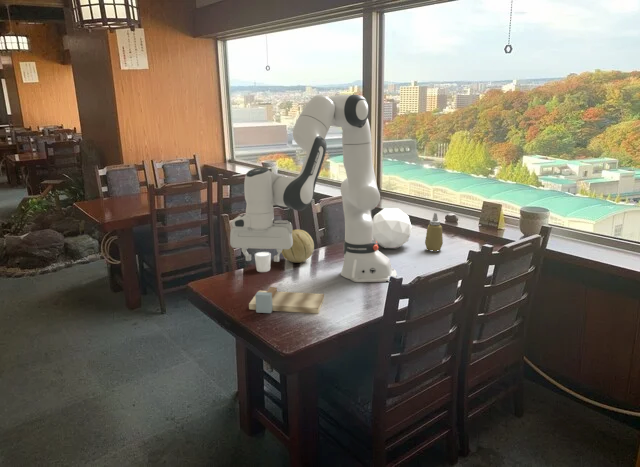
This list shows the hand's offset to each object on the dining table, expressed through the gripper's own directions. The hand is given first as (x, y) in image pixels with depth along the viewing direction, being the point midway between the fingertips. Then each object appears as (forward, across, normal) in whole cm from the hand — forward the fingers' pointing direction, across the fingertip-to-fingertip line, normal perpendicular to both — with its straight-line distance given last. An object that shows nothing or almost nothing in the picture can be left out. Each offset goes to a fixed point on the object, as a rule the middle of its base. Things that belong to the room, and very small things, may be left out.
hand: (262, 260), depth 157 cm
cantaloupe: (+19, 0, -52) cm, 56 cm away
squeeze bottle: (+19, -60, -76) cm, 99 cm away
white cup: (+18, +12, -40) cm, 46 cm away
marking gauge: (+18, 0, -6) cm, 19 cm away
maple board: (+18, -6, -7) cm, 21 cm away
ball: (+19, -40, -79) cm, 91 cm away
